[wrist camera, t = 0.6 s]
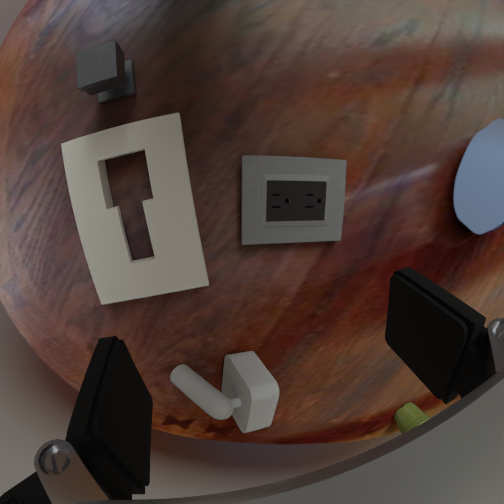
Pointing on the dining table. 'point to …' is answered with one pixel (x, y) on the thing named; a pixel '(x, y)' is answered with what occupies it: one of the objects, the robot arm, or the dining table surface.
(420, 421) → the plant pot
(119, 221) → the keyhole plate
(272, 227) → the electrical outlet
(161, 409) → the dining table surface
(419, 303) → the robot arm
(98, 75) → the keyhole peg
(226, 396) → the wall hook
